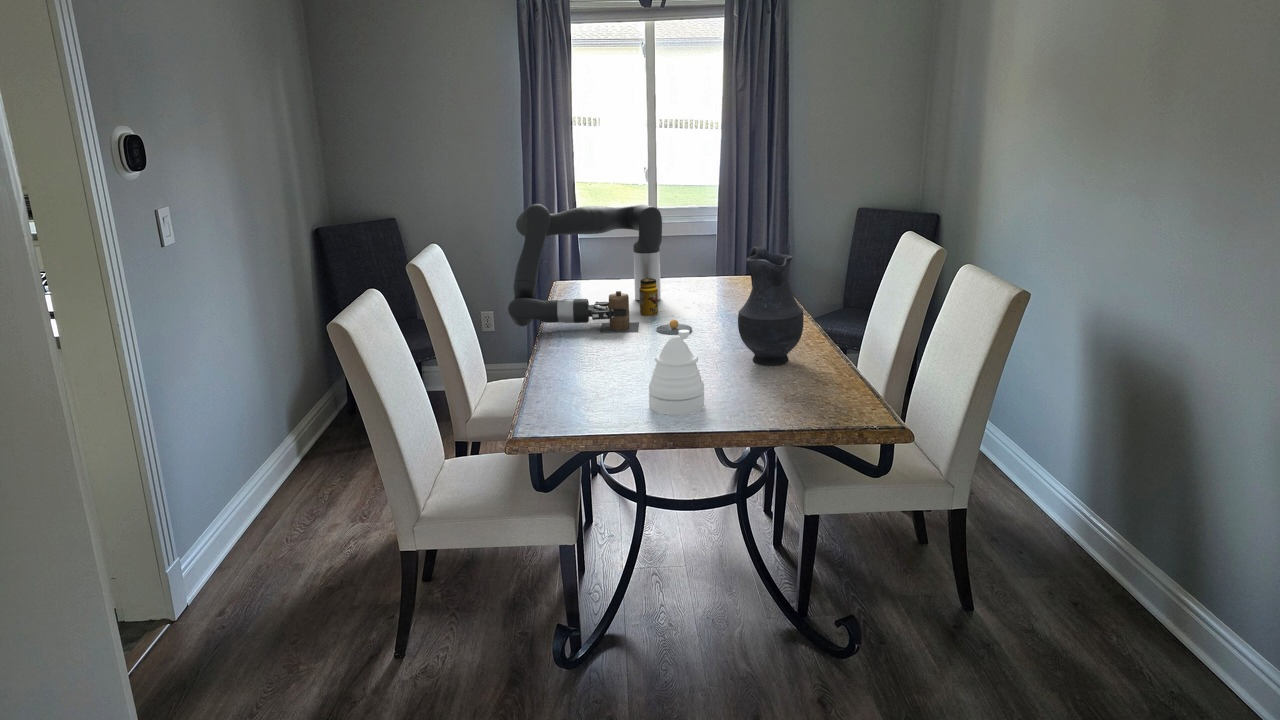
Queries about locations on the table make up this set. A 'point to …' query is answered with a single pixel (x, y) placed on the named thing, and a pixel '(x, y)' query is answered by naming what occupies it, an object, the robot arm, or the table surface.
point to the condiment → (648, 297)
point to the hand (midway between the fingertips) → (626, 309)
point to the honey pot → (676, 379)
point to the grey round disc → (668, 330)
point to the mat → (606, 329)
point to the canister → (619, 302)
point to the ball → (674, 324)
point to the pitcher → (770, 310)
